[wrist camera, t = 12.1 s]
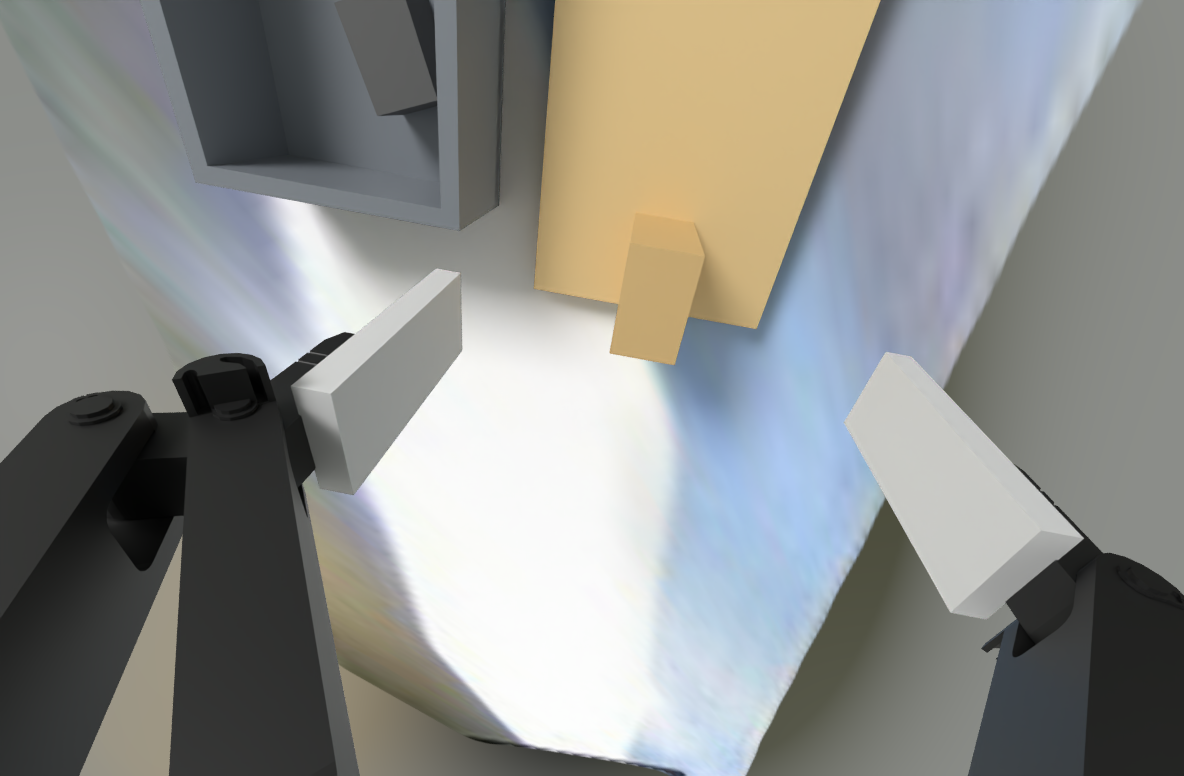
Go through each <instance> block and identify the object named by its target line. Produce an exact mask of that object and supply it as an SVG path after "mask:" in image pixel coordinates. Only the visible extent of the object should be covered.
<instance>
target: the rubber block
mask: <svg viewBox="0 0 1184 776" xmlns="http://www.w3.org/2000/svg"><path fill="white" fill-rule="evenodd" d="M334 4H335V7H336V10H337V12H338V15H339V18H340V20H341V23H342V25H343V28H344V31H345V33H346V36H347V38H348V41H349V44H350V46H351V49H352V51H353V54H354V57H355V59H356V62H357V65H358V67H359V70H360V72H361V75H362V78H363V80H364V83H365V85H366V88H367V91H368V93H369V96H370V98H371V101H372V104H373V106H374V109H375V112H376V114H377V116H392V115H405V114H409V113H413V112H417V111H421V110H424V109H428V108H432V107H436V106H437V78H436V48H435V20H434V17H433V13H432V10H431V7H430V3H429V0H341V1H338V2H335V3H334Z"/></svg>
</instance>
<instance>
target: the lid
mask: <svg viewBox="0 0 1184 776" xmlns="http://www.w3.org/2000/svg"><path fill="white" fill-rule="evenodd" d="M879 3H880V0H555V10H554V24H553V37H552V51H551V64H550V78H549V91H548V104H547V118H546V131H545V145H544V158H543V172H542V185H541V198H540V212H539V225H538V239H537V252H536V266H535V279H534V289H538V290H543V291H549V292H554V293H560V294H565V295H571V296H576V297H582V298H587V299H593V300H598V301H604V302H610V303H615V304H618V309H617V315H616V320H615V326H614V331H613V337H612V342H611V348H610V354H616V355H621V356H627V357H632V358H638V359H643V360H649V361H654V362H660V363H665V364H670V365H675V362H676V358H677V355H678V351H679V347H680V344H681V340H682V337H683V333H684V330H685V326H686V323H687V319H688V317H693V318H698V319H704V320H709V321H715V322H720V323H726V324H731V325H737V326H742V327H748V328H753V329H757V326H758V324H759V321H760V319H761V316H762V313H763V311H764V308H765V305H766V303H767V300H768V297H769V295H770V292H771V289H772V287H773V284H774V281H775V279H776V276H777V273H778V271H779V268H780V266H781V263H782V260H783V258H784V255H785V252H786V250H787V247H788V244H789V242H790V239H791V236H792V234H793V231H794V228H795V226H796V223H797V220H798V218H799V215H800V212H801V210H802V207H803V205H804V202H805V199H806V197H807V194H808V191H809V189H810V186H811V183H812V181H813V178H814V175H815V173H816V170H817V167H818V165H819V162H820V159H821V157H822V154H823V152H824V149H825V146H826V144H827V141H828V138H829V136H830V133H831V130H832V128H833V125H834V122H835V120H836V117H837V114H838V112H839V109H840V106H841V104H842V101H843V98H844V96H845V93H846V91H847V88H848V85H849V83H850V80H851V77H852V75H853V72H854V69H855V67H856V64H857V61H858V59H859V56H860V53H861V51H862V48H863V45H864V43H865V40H866V37H867V35H868V32H869V30H870V27H871V24H872V22H873V19H874V16H875V14H876V11H877V8H878V6H879Z"/></svg>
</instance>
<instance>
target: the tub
mask: <svg viewBox="0 0 1184 776" xmlns="http://www.w3.org/2000/svg"><path fill="white" fill-rule="evenodd" d="M338 1H341V0H140V3H141V6H142V10H143V13H144V16H145V19H146V23H147V26H148V29H149V32H150V36H151V39H152V42H153V45H154V49H155V52H156V55H157V58H158V62H159V65H160V68H161V71H162V75H163V78H164V81H165V84H166V88H167V91H168V94H169V97H170V101H171V104H172V107H173V110H174V114H175V117H176V120H177V123H178V127H179V130H180V133H181V136H182V140H183V143H184V146H185V149H186V153H187V156H188V159H189V162H190V166H191V169H192V172H193V175H194V179H195V182H196V183H201V184H206V185H212V186H217V187H223V188H228V189H234V190H239V191H245V192H250V193H255V194H261V195H266V196H272V197H277V198H283V199H288V200H294V201H299V202H304V203H310V204H315V205H321V206H326V207H332V208H337V209H343V210H348V211H353V212H359V213H364V214H370V215H375V216H381V217H386V218H392V219H397V220H403V221H408V222H413V223H419V224H424V225H430V226H435V227H441V228H446V229H452V230H457V231H460V230H462V229H463V228H465V227H466V226H468V225H469V224H471V223H472V222H474V221H475V220H477V219H478V218H480V217H482V216H483V215H485V214H486V213H488V212H489V211H491V210H492V209H494V208H495V207H497V206H498V205H499V185H500V154H501V123H502V93H503V62H504V32H505V1H506V0H429V3H430V7H431V10H432V13H433V17H434V20H435V48H436V78H437V106H436V107H432V108H428V109H424V110H421V111H417V112H413V113H409V114H405V115H392V116H377V114H376V112H375V109H374V106H373V104H372V101H371V98H370V96H369V93H368V91H367V88H366V85H365V83H364V80H363V78H362V75H361V72H360V70H359V67H358V65H357V62H356V59H355V57H354V54H353V51H352V49H351V46H350V44H349V41H348V38H347V36H346V33H345V31H344V28H343V25H342V23H341V20H340V18H339V15H338V12H337V10H336V7H335V4H334V3H335V2H338Z"/></svg>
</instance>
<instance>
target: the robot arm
mask: <svg viewBox="0 0 1184 776" xmlns="http://www.w3.org/2000/svg"><path fill="white" fill-rule="evenodd" d="M461 351H462V313H461V273H459V272H453V271H448V270H443V269H437V268H436V269H435V270H434V271H432V272H431V273H430V274H429V275H427V276H426V277H425V278H424V279H423V280H421V281H420V282H419V283H418V284H416V285H415V286H414V287H413V288H411V289H410V290H409V291H408V292H406V293H405V294H404V295H403V296H401V297H400V298H399V299H398V300H397V301H395V302H394V303H393V304H392V305H390V306H389V307H388V308H387V309H385V310H384V311H383V312H382V313H380V314H379V315H378V316H377V317H375V318H374V319H373V320H372V321H371V322H369V323H368V324H367V325H366V326H364V327H363V328H362V329H361V330H359V331H358V332H357V333H356V334H352V333H346V332H344V333H341V334H339V335H336V336H333V337H331V338H328V339H326V340H324V341H322V342H321V343H320V344H318V345H317V346H316V347H314V348H313V349H312V350H310V353H306V354H305V355H304V356H302V357H301V358H300V359H298V360H299V361H298V362H294V363H293V364H292V365H290V366H289V367H288V368H286V369H285V370H284V371H282V372H281V373H280V374H278V375H277V376H276V377H274V378H273V379H272V380H270V379H269V375H268V372H267V369H266V366H265V364H264V363H263V361H262V360H261V359H260V358H258V357H255V356H253V355H249V354H241V353H230V354H218V355H214V356H209V357H204V358H201V359H199V360H196V361H194V362H191V363H189V364H187V365H185V366H184V367H183V368H181V369H180V370H178V371H177V372H176V374H175V375H174V377H173V379H172V381H173V383H174V385H175V387H176V389H177V391H178V394H179V396H180V398H181V400H182V402H183V404H184V407H185V409H186V411H187V412H181V413H180V412H179V413H178V412H177V413H152V412H151V410H150V409H149V406H148V404H147V403H146V401H145V399H144V398H143V397H142V396H141V395H140V394H136V393H133V392H130V391H109V392H101V393H93V394H87V396H81V397H78V398H75V399H73V400H71V401H69V402H67V403H64V404H62V405H60V406H58V407H56V408H55V409H53V410H52V411H51V412H49V413H48V414H47V415H45V416H44V417H43V418H42V419H41V420H40V421H39V423H38V424H37V425H36V426H35V427H34V428H33V429H32V430H31V431H30V432H29V433H28V434H27V435H26V436H25V438H24V439H23V440H22V441H21V442H20V443H19V444H18V445H17V446H16V447H15V448H14V449H13V450H12V451H11V453H10V454H9V455H8V456H7V457H6V458H5V459H4V460H3V461H2V462H1V463H0V776H79V775H80V772H81V770H82V768H83V765H84V763H85V761H86V758H87V756H88V753H89V751H90V749H91V747H92V744H93V742H94V740H95V737H96V735H97V733H98V730H99V728H100V726H101V723H102V721H103V719H104V716H105V714H106V712H107V709H108V707H109V705H110V702H111V700H112V698H113V695H114V693H115V690H116V688H117V686H118V684H119V681H120V679H121V677H122V674H123V672H124V670H125V667H126V665H127V662H128V660H129V658H130V656H131V653H132V651H133V649H134V646H135V644H136V642H137V639H138V637H139V635H140V632H141V630H142V628H143V625H144V623H145V621H146V618H147V616H148V614H149V611H150V609H151V606H152V604H153V602H154V600H155V597H156V595H157V592H158V590H159V588H160V585H161V583H162V581H163V579H164V576H165V574H166V572H167V569H168V567H169V565H170V562H171V560H172V558H173V555H174V553H175V551H176V548H177V546H178V544H179V541H180V539H181V537H182V534H183V541H182V557H181V574H180V575H181V576H180V593H179V610H178V627H177V644H176V645H177V646H176V662H175V680H174V697H173V715H172V733H171V750H170V768H169V776H360V774H359V769H358V764H357V759H356V754H355V749H354V743H353V738H352V733H351V729H350V723H349V718H348V713H347V707H346V702H345V697H344V691H343V686H342V681H341V676H340V671H339V665H338V660H337V655H336V650H335V645H334V639H333V634H332V629H331V624H330V619H329V613H328V608H327V603H326V598H325V593H324V587H323V582H322V577H321V572H320V567H319V561H318V556H317V551H316V546H315V541H314V536H313V530H312V525H311V520H310V515H309V510H308V504H307V499H306V494H305V490H304V487H303V484H302V483H303V482H304V481H305V480H306V478H307V477H308V476H309V475H310V474H311V473H312V472H313V471H314V470H315V473H316V477H317V480H318V484H319V487H320V489H325V490H330V491H335V492H340V493H345V494H350V495H354V494H355V493H356V492H357V490H358V489H359V488H360V486H361V485H362V483H363V482H364V481H365V479H366V478H367V477H368V475H369V474H370V473H371V471H372V470H373V469H374V467H375V466H376V465H377V463H378V462H379V461H380V459H381V458H382V457H383V455H384V454H385V453H386V451H387V450H388V449H389V447H390V446H391V445H392V443H393V442H394V441H395V439H396V438H397V437H398V435H399V434H400V433H401V431H402V430H403V429H404V427H405V426H406V425H407V423H408V422H409V421H410V419H411V418H412V417H413V415H414V414H415V413H416V411H417V410H418V409H419V407H420V406H421V405H422V403H423V402H424V401H425V399H426V398H427V397H428V395H429V394H430V393H431V391H432V390H433V389H434V387H435V386H436V385H437V383H438V382H439V381H440V379H441V378H442V377H443V375H444V374H445V373H446V371H447V370H448V369H449V367H450V366H451V365H452V363H453V362H454V361H455V359H456V358H457V357H458V355H459V354H460V353H461ZM844 423H845V425H846V427H847V429H848V431H849V432H850V434H851V436H852V438H853V440H854V441H855V443H856V445H857V447H858V448H859V450H860V452H861V454H862V456H863V457H864V459H865V461H866V463H867V465H868V466H869V468H870V470H871V472H872V473H873V475H874V477H875V479H876V481H877V482H878V484H879V486H880V488H881V490H882V491H883V493H884V495H885V497H886V498H887V500H888V502H889V504H890V505H891V507H892V509H893V511H894V513H895V514H896V516H897V518H898V520H899V522H900V523H901V525H902V527H903V529H904V530H905V532H906V534H907V536H908V538H909V539H910V541H911V543H912V545H913V546H914V548H915V550H916V552H917V554H918V556H919V557H920V559H921V561H922V563H923V564H924V566H925V568H926V570H927V571H928V573H929V575H930V577H931V579H932V581H933V582H934V584H935V586H936V588H937V589H938V591H939V593H940V595H941V596H942V598H943V600H944V602H945V604H946V606H947V607H948V609H949V611H950V612H951V613H955V614H961V615H966V616H971V617H976V618H981V619H988V618H989V617H990V616H991V615H992V614H994V613H995V612H996V611H997V610H998V609H1000V608H1001V607H1002V606H1003V605H1004V604H1006V603H1007V605H1008V606H1009V608H1010V609H1011V611H1012V612H1013V614H1014V615H1015V617H1016V618H1017V619H1016V620H1015V621H1014V622H1012V623H1011V624H1010V625H1008V626H1007V627H1006V628H1005V629H1003V630H1002V631H1001V632H999V633H998V634H997V635H996V636H994V637H993V638H992V639H990V640H989V641H988V642H987V643H985V645H984V646H983V647H982V649H983V650H984V651H985V652H989V651H990V650H992V649H993V648H1000V651H999V655H998V657H997V658H996V659H997V663H996V666H995V670H994V674H993V678H992V682H991V686H990V691H989V694H988V699H987V702H986V706H985V710H984V714H983V718H982V722H981V726H980V730H979V734H978V738H977V742H976V746H975V750H974V754H973V758H972V762H971V766H970V770H969V774H968V776H1184V595H1183V594H1182V593H1180V591H1179V590H1178V589H1177V588H1176V587H1174V586H1173V585H1172V584H1171V583H1169V582H1168V581H1167V580H1165V579H1164V578H1163V577H1162V576H1160V575H1159V574H1157V573H1155V572H1154V571H1152V570H1150V569H1149V568H1147V567H1145V566H1144V565H1142V564H1140V563H1137V562H1135V561H1133V560H1131V559H1129V558H1126V557H1124V556H1120V555H1116V554H1112V553H1102V552H1101V551H1100V550H1099V549H1098V547H1096V546H1095V544H1094V543H1093V542H1092V541H1091V540H1090V539H1089V538H1088V537H1087V536H1086V535H1085V534H1084V533H1083V532H1082V531H1081V530H1080V529H1079V528H1078V527H1077V526H1076V525H1075V524H1074V522H1073V521H1072V520H1071V519H1070V518H1069V517H1068V516H1067V515H1066V514H1065V513H1064V512H1063V511H1062V510H1061V509H1060V508H1059V507H1058V506H1055V505H1054V502H1053V501H1052V500H1051V499H1050V498H1049V497H1048V495H1046V493H1045V492H1042V491H1040V489H1041V488H1040V487H1039V486H1038V485H1037V484H1036V483H1035V482H1034V481H1033V480H1032V479H1031V478H1030V477H1029V476H1028V475H1027V474H1026V473H1025V472H1024V471H1023V470H1022V469H1020V468H1019V467H1017V466H1016V465H1015V464H1013V463H1012V462H1011V461H1010V460H1009V459H1008V458H1007V457H1006V456H1005V455H1004V454H1003V453H1002V452H1001V451H1000V450H999V449H998V447H997V446H996V445H995V444H994V443H993V442H992V441H991V440H990V439H989V438H988V437H987V436H986V435H985V434H984V433H983V432H982V431H981V430H980V429H979V428H978V426H976V424H975V423H974V422H973V421H972V420H971V419H970V418H969V417H968V416H967V415H966V414H965V413H964V412H963V411H962V410H961V409H960V407H958V405H957V404H956V403H955V402H954V401H953V400H952V399H951V398H950V397H949V396H948V395H947V394H946V393H945V392H944V391H943V390H942V389H941V387H940V386H939V385H938V384H937V383H936V382H935V381H934V380H933V379H932V378H931V377H930V376H929V375H928V374H927V373H926V372H925V371H924V370H923V369H922V367H921V366H920V365H919V364H918V363H917V362H916V361H915V360H914V359H913V358H912V357H911V356H905V355H900V354H894V353H889V352H886V353H885V354H884V356H883V358H882V359H881V361H880V363H879V364H878V366H877V368H876V369H875V371H874V373H873V374H872V376H871V378H870V379H869V381H868V383H867V385H866V386H865V388H864V390H863V391H862V393H861V395H860V396H859V398H858V400H857V401H856V403H855V405H854V406H853V408H852V410H851V411H850V413H849V415H848V417H847V418H846V420H845V422H844Z"/></svg>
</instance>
